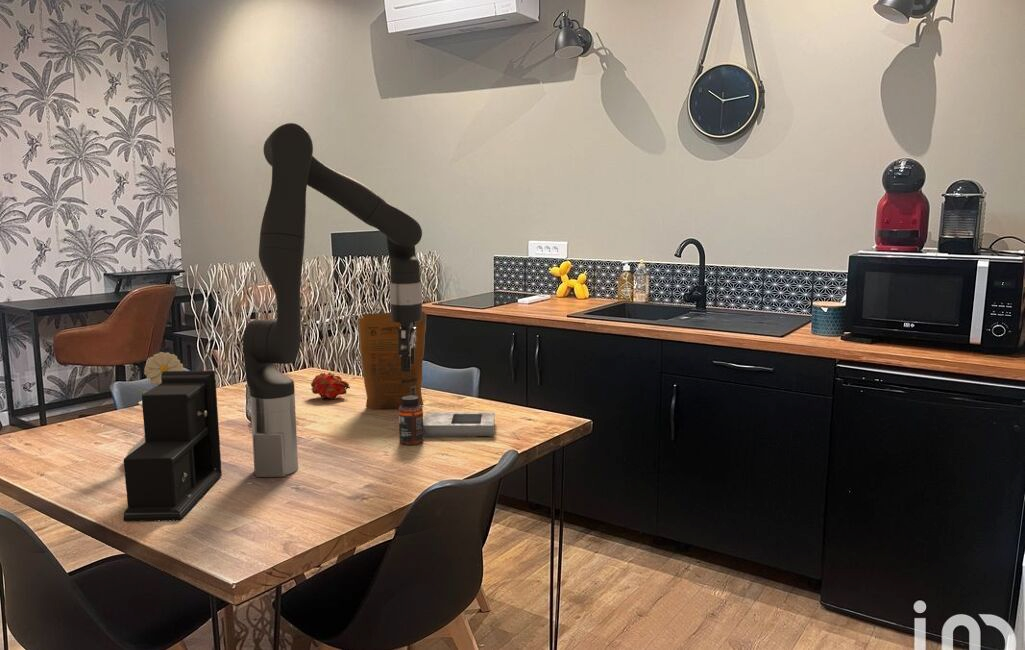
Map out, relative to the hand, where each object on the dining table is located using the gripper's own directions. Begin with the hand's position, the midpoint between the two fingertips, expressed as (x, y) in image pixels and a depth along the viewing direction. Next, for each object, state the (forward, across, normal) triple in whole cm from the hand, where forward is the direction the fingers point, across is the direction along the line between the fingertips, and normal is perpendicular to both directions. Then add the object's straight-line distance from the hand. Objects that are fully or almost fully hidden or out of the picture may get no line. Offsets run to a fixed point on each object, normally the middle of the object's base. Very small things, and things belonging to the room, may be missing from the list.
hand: (408, 367), depth 185 cm
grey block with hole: (+19, +9, -12) cm, 24 cm away
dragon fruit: (+19, +42, +29) cm, 55 cm away
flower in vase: (+18, -13, +56) cm, 60 cm away
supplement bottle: (+19, -1, 0) cm, 19 cm away
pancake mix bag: (+19, +31, +8) cm, 38 cm away
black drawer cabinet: (+18, -36, +42) cm, 58 cm away
